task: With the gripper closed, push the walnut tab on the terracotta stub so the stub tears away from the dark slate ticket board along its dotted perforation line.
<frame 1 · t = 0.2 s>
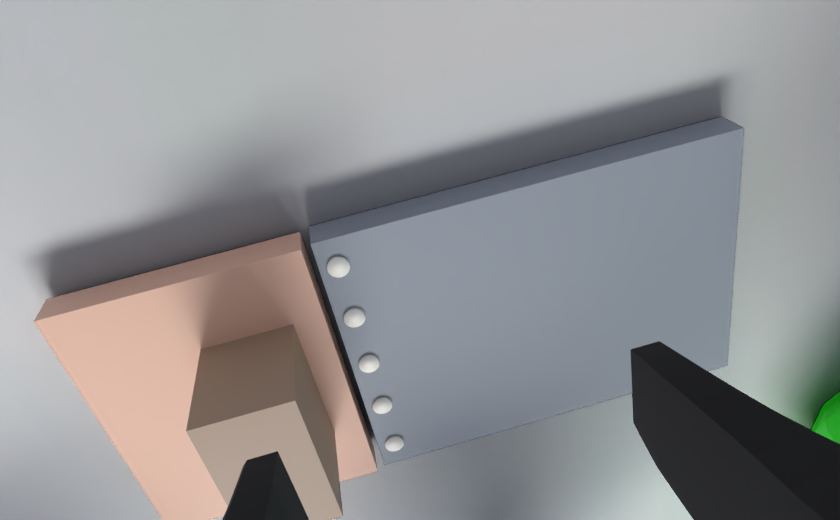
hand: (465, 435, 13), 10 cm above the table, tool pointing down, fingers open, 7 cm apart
stub: (225, 431, 21), point 3 cm above the table, slide at 0.0 cm
ticket board: (535, 294, 23), on the table
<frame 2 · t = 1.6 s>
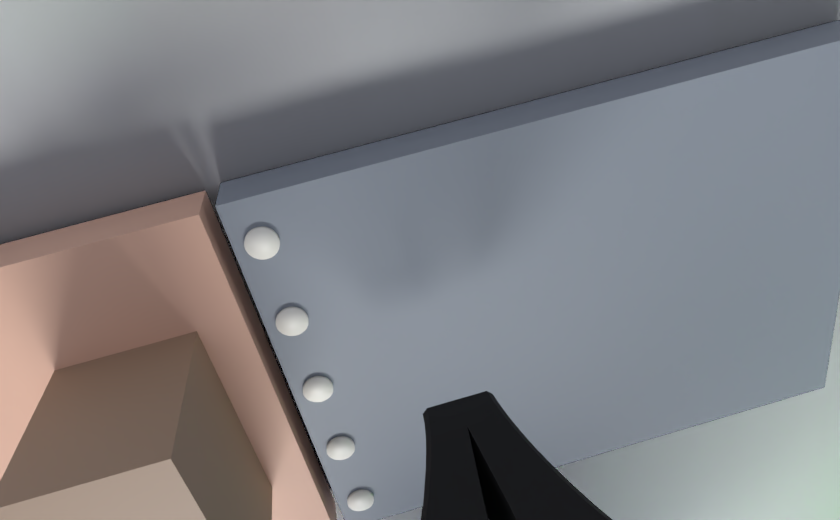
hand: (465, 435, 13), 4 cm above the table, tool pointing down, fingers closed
stub: (95, 495, 14), point 3 cm above the table, slide at 0.0 cm
ticket board: (559, 288, 16), on the table
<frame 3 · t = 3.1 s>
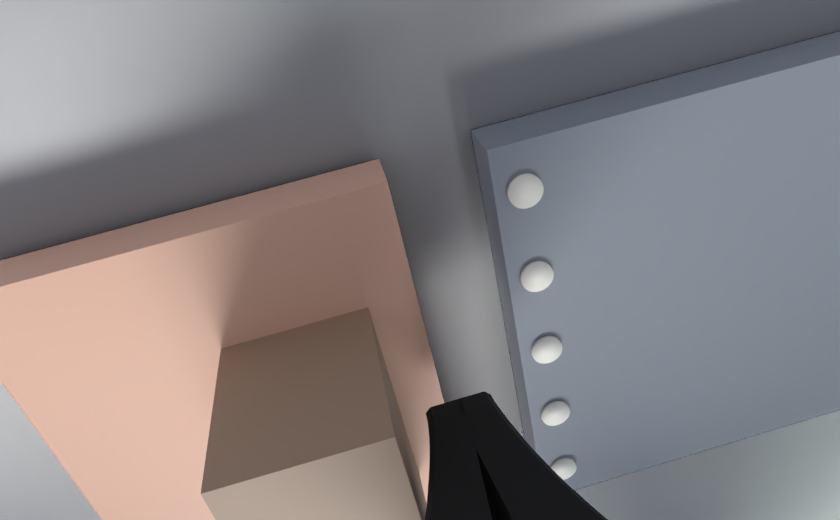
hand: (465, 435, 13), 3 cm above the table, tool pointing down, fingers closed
stub: (260, 479, 13), point 3 cm above the table, slide at 1.6 cm, touching gripper
ticket board: (776, 247, 16), on the table
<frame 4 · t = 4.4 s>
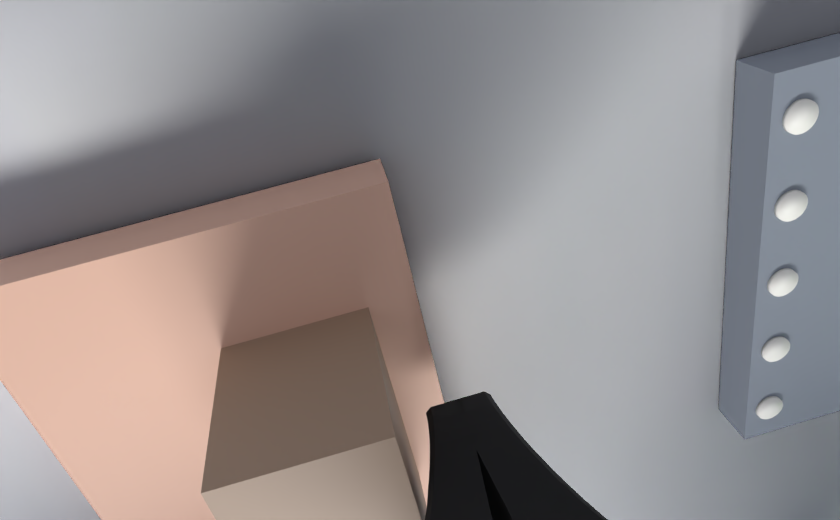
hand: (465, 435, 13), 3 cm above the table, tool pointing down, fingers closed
stub: (260, 479, 13), point 3 cm above the table, slide at 7.3 cm, touching gripper
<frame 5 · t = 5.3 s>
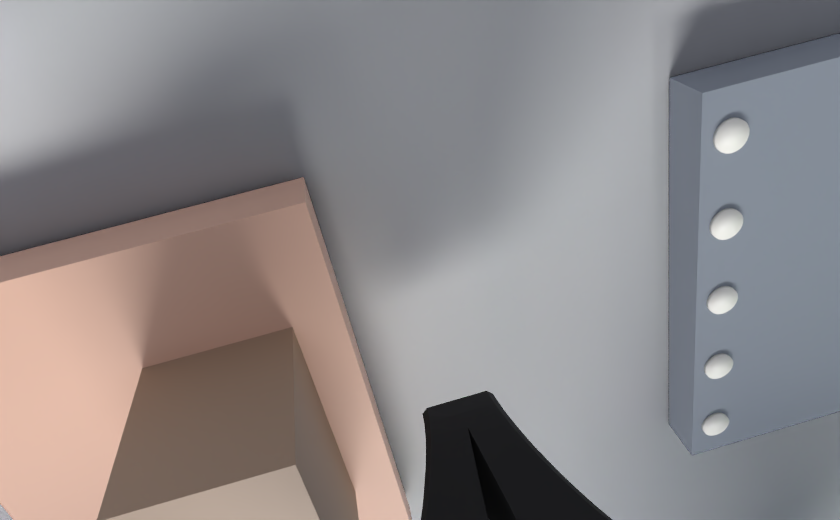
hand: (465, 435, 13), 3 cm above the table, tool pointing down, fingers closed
stub: (183, 500, 13), point 3 cm above the table, slide at 7.4 cm
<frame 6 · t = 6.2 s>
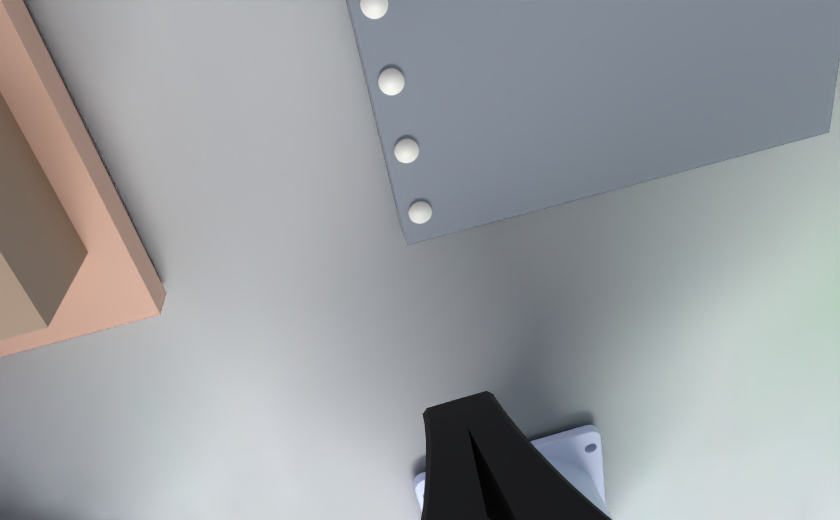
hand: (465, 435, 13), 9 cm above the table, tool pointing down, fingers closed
ticket board: (598, 17, 19), on the table
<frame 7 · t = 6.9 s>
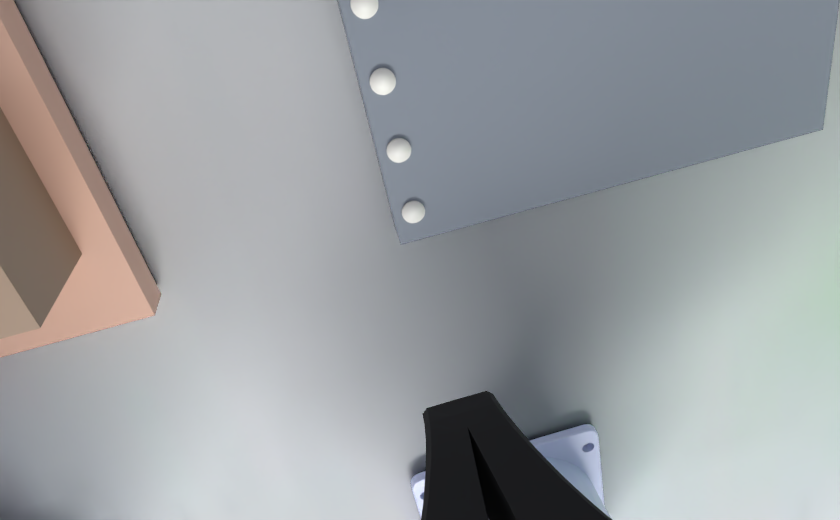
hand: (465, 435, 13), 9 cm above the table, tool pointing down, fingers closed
ticket board: (590, 16, 19), on the table
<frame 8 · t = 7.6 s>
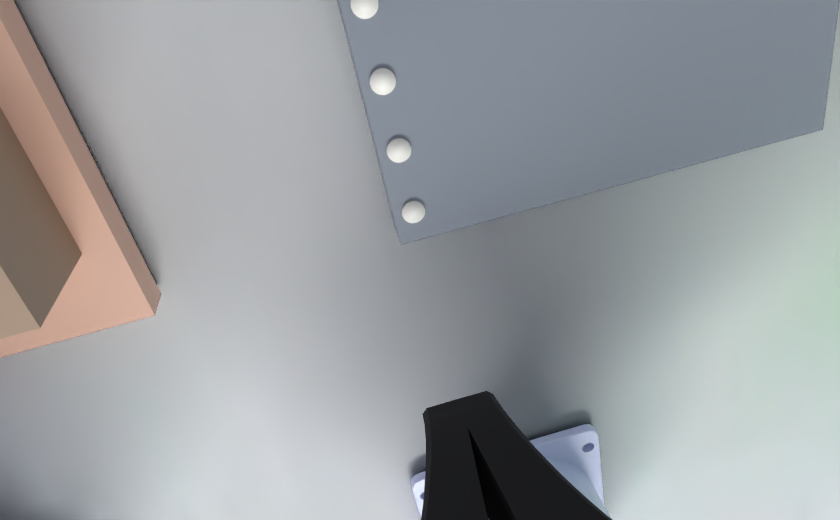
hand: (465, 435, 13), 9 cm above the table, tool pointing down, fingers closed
ticket board: (590, 16, 19), on the table
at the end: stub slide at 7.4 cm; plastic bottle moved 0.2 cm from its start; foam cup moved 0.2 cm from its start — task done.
